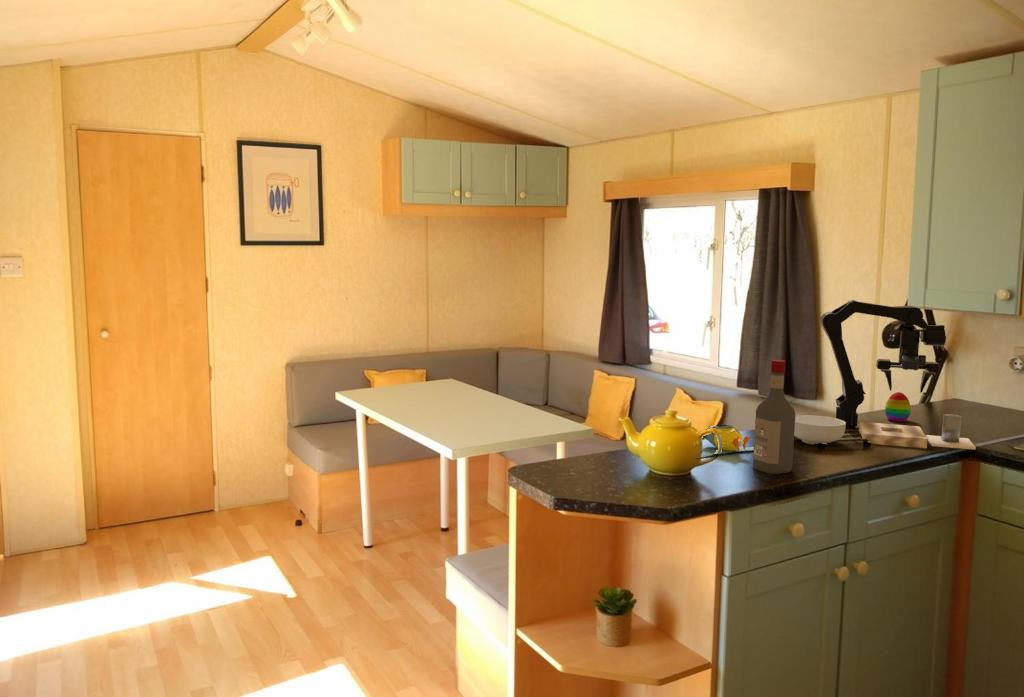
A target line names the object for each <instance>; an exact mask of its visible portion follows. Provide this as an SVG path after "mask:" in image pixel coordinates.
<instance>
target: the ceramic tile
mask: <svg viewBox="0 0 1024 697" xmlns="http://www.w3.org/2000/svg"><path fill="white" fill-rule="evenodd" d="M925 436H926V437H927V442H929V444H930V446H932V447H939V448H940V447H941V448H951V449H952V448H953V449H962V450H974V451H975V450H976V448H977V447H976V446H975V445H974V443H973V442H972V441H971V440H970V438H968V437H960V439H959V442H958V443H950V442H944V441H942V440H941V437H942V435H931V434H930V435H929V434H926V435H925Z"/></svg>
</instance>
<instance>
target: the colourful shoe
mask: <svg viewBox="0 0 1024 697" xmlns="http://www.w3.org/2000/svg"><path fill="white" fill-rule="evenodd" d="M710 428H716V429H717V431H718V432H719V433H720V435H721V440H722V446H723V447H722V452H721V453H720V454H719V455H722V454H723V455H724V454H729V453H730V454H731V453H734V452H735V453H736V452H737V453H738V452H739V453H740V452H752V451H753V452H754V446H749V447H746V445H747V443H748V442H749V441H750V439H751V438H752V437H751V436H749V435H746V436H745V437H743V434H741V432H740V431H739V430H737V429H736V427H734V426H731V425H728V424H723V425H722V424H721V425H712V426H711V425H709V426H708V427H707V428H706V429H705V430H707V429H710ZM701 438H702V437H701ZM701 440H703V441H704V440H706V441H708V442H709V443H710V444H711V445H712V446H714V447H715V448H716V449H713V450H712V449H711V450H705V451H701V452H702V458H701V459H703V458H706V457H711V456H712V455H713V454H714V453H715V452H716V450H717V449H718V441H717V437H716V436H715V435H714V434H709V435H706V436H703V438H702V439H701ZM713 456H714V455H713Z"/></svg>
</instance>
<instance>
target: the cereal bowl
mask: <svg viewBox="0 0 1024 697" xmlns="http://www.w3.org/2000/svg"><path fill="white" fill-rule="evenodd" d="M845 427H846V423H845V422H844V421H842V420H840V419H836V418H835V417H831V416H825V415H823V416H822V415H813V414H812V415H811V414H806V415H805V414H801V415H795V430H794V438H797V439H799V440H801V441H802V442H803V443H805V444H808V445H814V444H815V443H828V442H829V443H833V442H835V441H838V440H840V439H841V438H842V437H843V436H844V434H845V432H846V428H845Z"/></svg>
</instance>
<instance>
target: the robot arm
mask: <svg viewBox="0 0 1024 697" xmlns="http://www.w3.org/2000/svg"><path fill="white" fill-rule="evenodd" d="M855 313H856V314H862V315H863V314H864V315H870V316H874V317H876V316H877V317H881V318H882V317H883V318H888V319H889V318H890V319H893V320H896V321H899V324H898V325H896V326H895V327H894V328H893V329H894V330H895V331H897V332H900V338H899V353H898V361H891V359H888V358H887V359H885V358H878V359H877V360H876V364H875V367H876V369H877V370H880V371H881V372H882V373H884V376H885V378H886V380H887V381H886V382H887V385H888V389H889V391H892V388H893V386H892V370H891V368H893V369H894V368H895V369H902V370H905V371H907V370H913V371H919V370H922V374H921V382H920V387H919V392H920V394H921V393H922V392H923V391H924V389H925V387H926V384H927V382H928V381H929V379H930V378H931V376H936V373H937V374H938V373H941V365H940V363H938V362H937V361H927V356H926V354H925V355H924V354H919V349H920V343H923V345H924V346H932V347H933V346H936V347H937V346H938V347H944V346H945V345H946V341H947V335H946V330H945V328H946V327H945V325H944V324H935V325H933V324H930V325H929V324H928V323H927V321H926V320H925V319H924V313H923V311H922V310H921V309H920V308H919V307H915V306H912V305H898V306H896V305H895V306H890V305H889V306H888V305H884V304H876V303H872V302H871V303H869V302H865V301H864V302H863V301H857V300H854V299H849V300H848V301H847V302H845V303H843V304H842V305H840V306H839V307H837V308H835V309H834V310H832V311H827V312H824V313H823V314H822V315H821V317H820V318H819V323H820V325H821V327H822V329H823V331H824V333H825V335H826V336H827V338H828V340H829V342H830V345H831V348H832V351H833V354H834V355H833V356H834V358H835V362H836V365H837V368H838V371H839V375H840V378H841V392H842V393H841V395H840V396H838V397H837V398H836V399H835V404H836V407H835V417H834V418H836V419H840V420H842V421H844V422H845V423H846V427H845V429H855V430H856V429H857V427H858V423H859V422H858V421H859V420H858V419H859V413H858V412H857V409H858V407H859V406H860V405H861V404H862V403H863V402H864V400H865V395H866V391H865V390H864V387H863V386H864V385H863V382H862V381H861V380H860V379H856V378H855V376H854V372H853V370H852V366H851V362H850V359H849V356H848V353H847V350H846V346H845V344H844V339H843V329H842V323H843V322H845V321H846V320H848V319H849V318H850V317H852V315H854V314H855ZM903 323H905V324H908V325H903ZM914 326H915V327H918V328H915V327H914Z"/></svg>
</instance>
